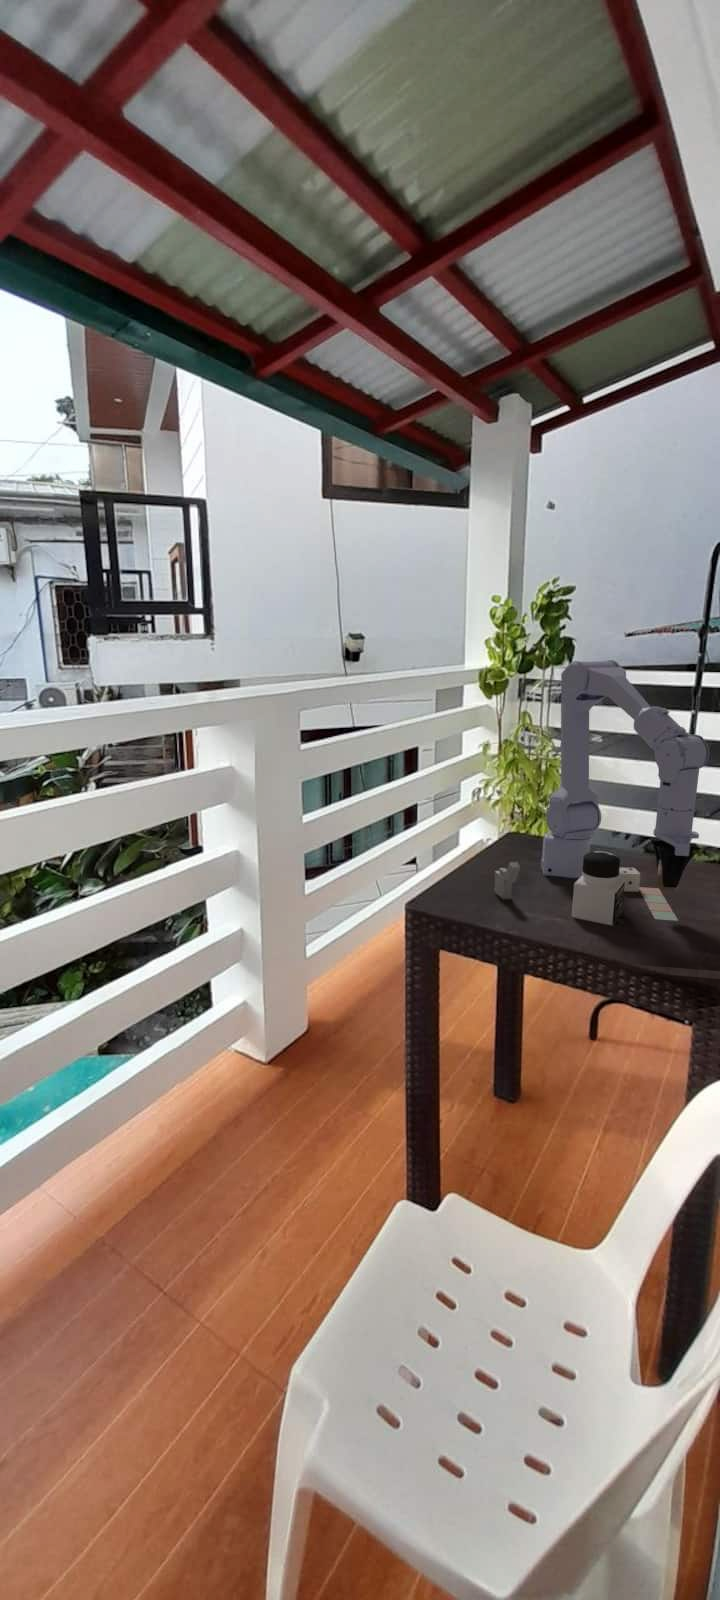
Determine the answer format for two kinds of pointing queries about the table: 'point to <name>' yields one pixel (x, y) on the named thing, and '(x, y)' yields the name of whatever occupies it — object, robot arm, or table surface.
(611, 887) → the medicine bottle
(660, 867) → the pawn
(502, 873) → the grey notched upright piece
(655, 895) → the board
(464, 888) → the table surface
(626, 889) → the die
